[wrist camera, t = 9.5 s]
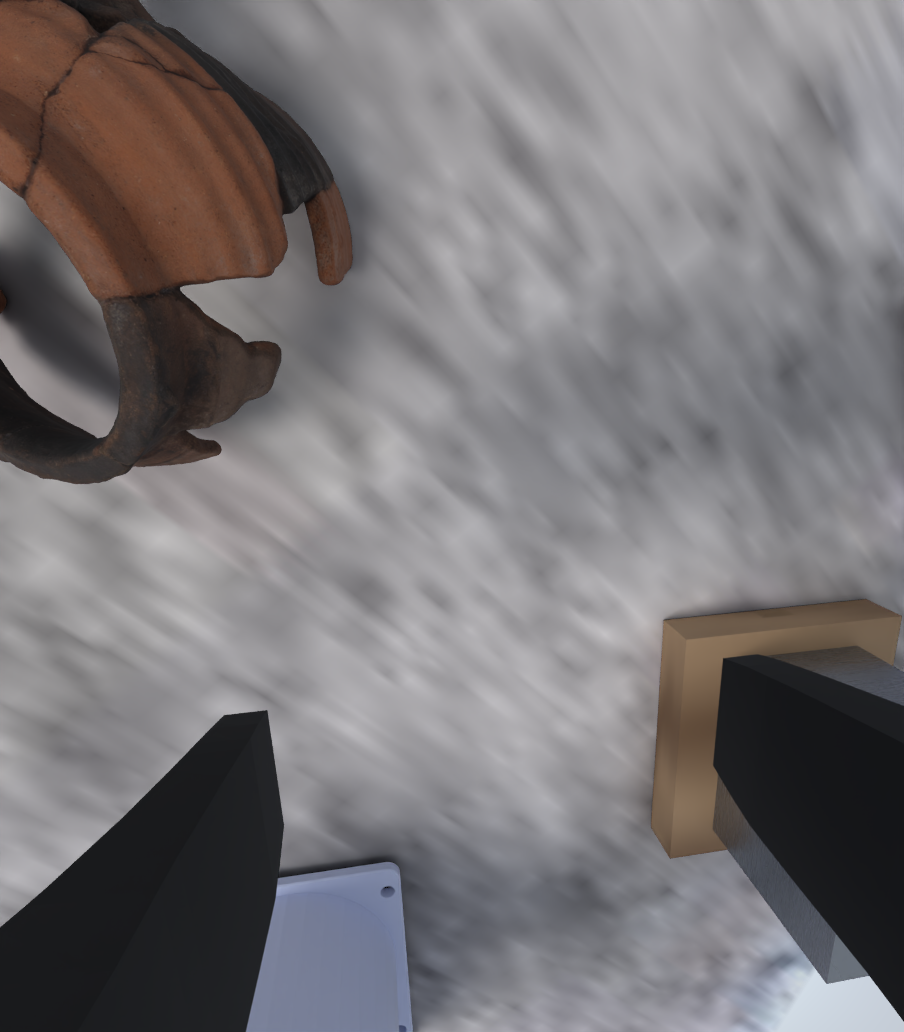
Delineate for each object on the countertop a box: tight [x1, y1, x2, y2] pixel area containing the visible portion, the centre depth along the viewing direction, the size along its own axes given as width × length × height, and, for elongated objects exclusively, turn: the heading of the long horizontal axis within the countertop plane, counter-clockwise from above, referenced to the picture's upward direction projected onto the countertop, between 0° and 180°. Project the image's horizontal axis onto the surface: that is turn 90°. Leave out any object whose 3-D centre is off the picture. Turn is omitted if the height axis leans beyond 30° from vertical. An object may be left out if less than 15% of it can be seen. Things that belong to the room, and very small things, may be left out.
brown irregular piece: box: [0, 0, 353, 484], centre depth 13 cm, size 12×10×8 cm
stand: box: [651, 599, 902, 859], centre depth 21 cm, size 9×8×2 cm
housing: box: [712, 646, 904, 984], centre depth 18 cm, size 7×5×6 cm
